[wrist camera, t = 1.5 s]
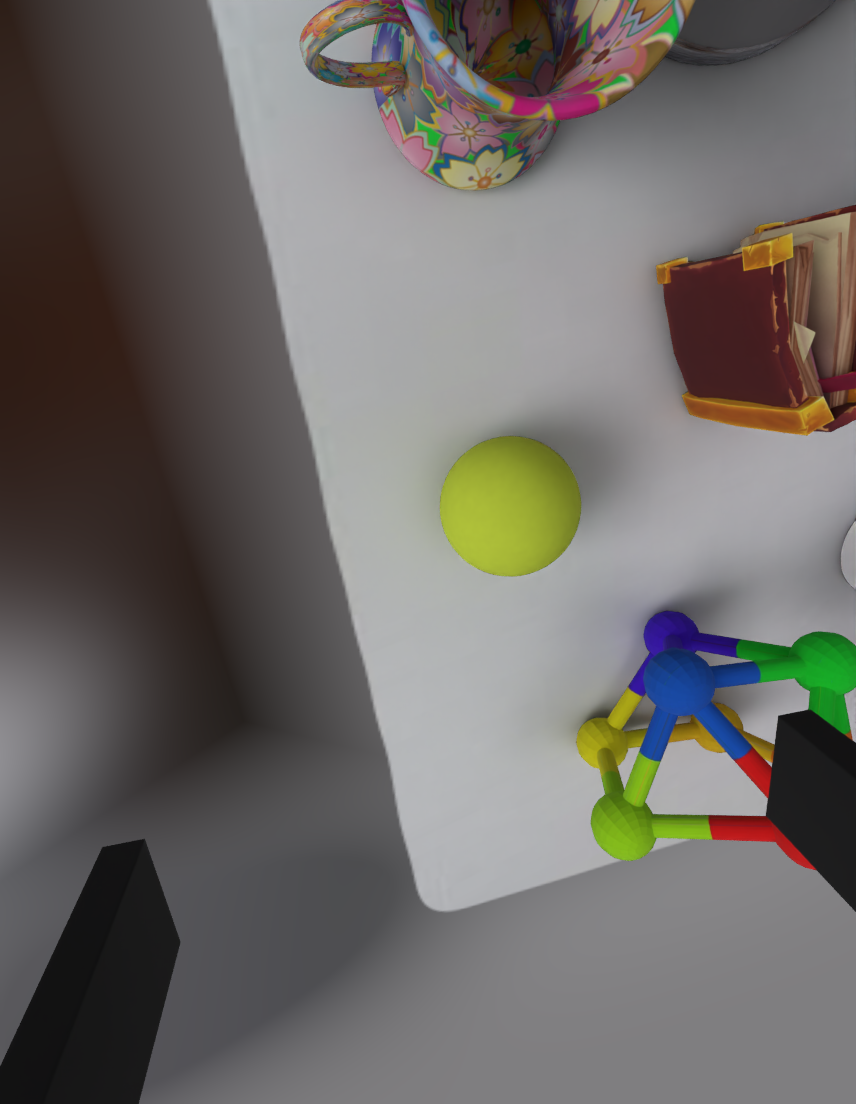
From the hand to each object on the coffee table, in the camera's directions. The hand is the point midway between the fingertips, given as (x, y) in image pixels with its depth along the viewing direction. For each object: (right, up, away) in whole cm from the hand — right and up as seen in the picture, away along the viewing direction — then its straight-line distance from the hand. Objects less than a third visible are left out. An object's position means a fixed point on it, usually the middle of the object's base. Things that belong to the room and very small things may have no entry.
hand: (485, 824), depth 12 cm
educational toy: (+13, -2, +25) cm, 28 cm away
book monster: (+16, +18, +19) cm, 31 cm away
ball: (+3, +8, +16) cm, 18 cm away
